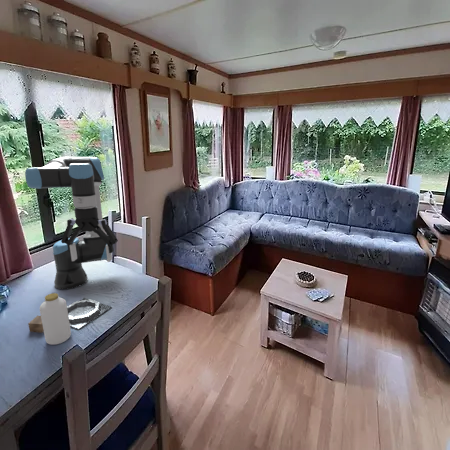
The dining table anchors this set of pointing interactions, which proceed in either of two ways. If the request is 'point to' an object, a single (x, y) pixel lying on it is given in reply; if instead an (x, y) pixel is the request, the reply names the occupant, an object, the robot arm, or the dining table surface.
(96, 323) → the dining table surface
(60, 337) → the white plastic bottle
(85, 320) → the ring seat
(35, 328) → the walnut block
